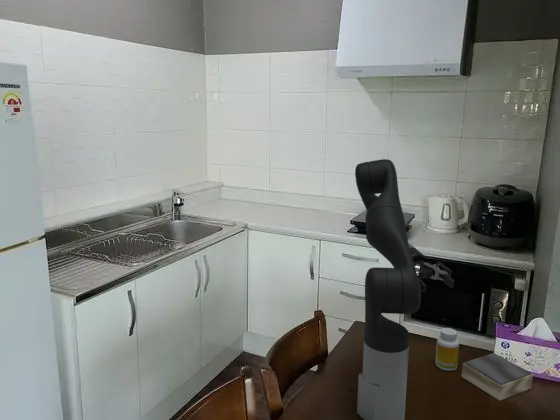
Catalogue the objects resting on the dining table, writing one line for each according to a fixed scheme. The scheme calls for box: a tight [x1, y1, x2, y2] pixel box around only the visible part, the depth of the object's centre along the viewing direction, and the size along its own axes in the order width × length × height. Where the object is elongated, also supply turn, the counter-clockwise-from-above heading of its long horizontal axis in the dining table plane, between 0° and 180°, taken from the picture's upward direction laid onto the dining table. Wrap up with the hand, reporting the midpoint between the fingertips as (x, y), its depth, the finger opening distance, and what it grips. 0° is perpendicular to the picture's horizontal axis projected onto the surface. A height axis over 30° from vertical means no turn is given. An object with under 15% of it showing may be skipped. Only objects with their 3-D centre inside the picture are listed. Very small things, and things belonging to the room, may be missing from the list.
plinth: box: [461, 352, 534, 402], centre depth 110 cm, size 11×11×4 cm
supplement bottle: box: [435, 327, 460, 372], centre depth 117 cm, size 5×5×10 cm
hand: (438, 287), depth 122 cm, fingers open, 8 cm apart
